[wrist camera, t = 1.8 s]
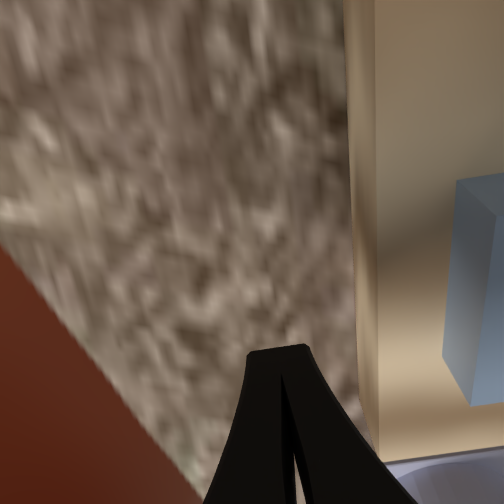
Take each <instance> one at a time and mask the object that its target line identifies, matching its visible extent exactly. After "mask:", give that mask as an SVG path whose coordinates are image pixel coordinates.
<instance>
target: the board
mask: <svg viewBox="0 0 504 504" xmlns="http://www.w3.org/2000/svg"><path fill="white" fill-rule="evenodd" d="M343 19H344V43H345V67H346V91H347V115H348V139H349V163H350V188H351V212H352V236H353V260H354V284H355V308H356V332H357V356H358V380H359V400H360V403H361V406H362V410H363V413H364V416H365V419H366V422H367V425H368V428H369V432H370V435H371V438H372V441H373V444H374V447H375V450H376V454H377V456H378V457H379V458H380V460H381V461H382V462H389V461H396V460H403V459H410V458H417V457H425V456H432V455H439V454H446V453H453V452H460V451H467V450H475V449H482V448H489V447H496V446H503V445H504V402H500V403H493V404H486V405H479V406H472V407H470V405H469V403H468V402H467V400H466V398H465V396H464V395H463V393H462V391H461V389H460V388H459V386H458V384H457V382H456V380H455V379H454V377H453V375H452V373H451V372H450V370H449V368H448V366H447V365H446V363H445V361H444V359H443V357H442V348H443V336H444V324H445V312H446V300H447V289H448V277H449V265H450V253H451V241H452V229H453V217H454V206H455V194H456V182H457V180H460V179H466V178H472V177H479V176H485V175H492V174H498V173H504V0H343Z"/></svg>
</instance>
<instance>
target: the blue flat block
mask: <svg viewBox="0 0 504 504" xmlns="http://www.w3.org/2000/svg"><path fill="white" fill-rule="evenodd" d="M442 357H443V359H444V361H445V363H446V365H447V366H448V368H449V370H450V372H451V373H452V375H453V377H454V379H455V380H456V382H457V384H458V386H459V388H460V389H461V391H462V393H463V395H464V396H465V398H466V400H467V402H468V403H469V405H470V407H472V406H479V405H486V404H493V403H500V402H504V173H498V174H492V175H485V176H479V177H472V178H466V179H460V180H457V182H456V194H455V206H454V217H453V229H452V241H451V253H450V265H449V277H448V289H447V300H446V312H445V324H444V336H443V348H442Z"/></svg>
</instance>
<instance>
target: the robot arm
mask: <svg viewBox="0 0 504 504" xmlns="http://www.w3.org/2000/svg"><path fill="white" fill-rule="evenodd" d="M294 455H295V460H296V464H297V468H298V472H299V476H300V480H301V484H302V488H303V492H304V496H305V501H306V504H504V445H503V446H496V447H489V448H482V449H475V450H467V451H460V452H453V453H446V454H439V455H432V456H425V457H417V458H410V459H403V460H396V461H389V462H382V461H381V460H380V458H379V457H378V456H377V455H376V453H375V452H374V451H373V450H372V448H371V447H370V446H369V444H368V443H367V442H366V440H365V439H364V438H363V436H362V435H361V434H360V432H359V431H358V430H357V428H356V427H355V425H354V424H353V423H352V421H351V420H350V418H349V417H348V415H347V414H346V412H345V411H344V409H343V408H342V406H341V405H340V403H339V402H338V400H337V399H336V397H335V396H334V394H333V392H332V391H331V389H330V387H329V386H328V384H327V382H326V381H325V379H324V377H323V375H322V373H321V372H320V370H319V368H318V366H317V364H316V362H315V360H314V357H313V355H312V353H311V350H310V347H309V346H307V345H306V344H304V343H303V344H297V345H290V346H283V347H277V348H270V349H263V350H257V351H251V352H250V353H249V354H248V355H247V358H246V368H245V375H244V380H243V385H242V390H241V394H240V398H239V402H238V406H237V409H236V413H235V416H234V420H233V423H232V426H231V430H230V433H229V436H228V439H227V442H226V445H225V448H224V450H223V453H222V456H221V459H220V461H219V464H218V467H217V470H216V473H215V475H214V478H213V480H212V483H211V485H210V487H209V490H208V492H207V495H206V497H205V499H204V502H203V504H297V500H296V484H295V467H294Z"/></svg>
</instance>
